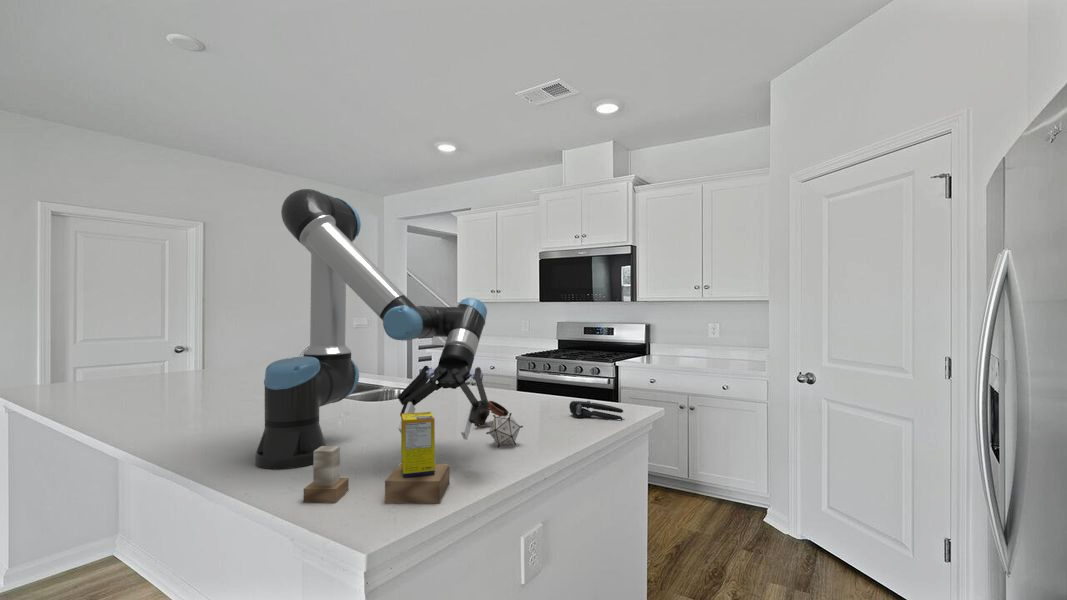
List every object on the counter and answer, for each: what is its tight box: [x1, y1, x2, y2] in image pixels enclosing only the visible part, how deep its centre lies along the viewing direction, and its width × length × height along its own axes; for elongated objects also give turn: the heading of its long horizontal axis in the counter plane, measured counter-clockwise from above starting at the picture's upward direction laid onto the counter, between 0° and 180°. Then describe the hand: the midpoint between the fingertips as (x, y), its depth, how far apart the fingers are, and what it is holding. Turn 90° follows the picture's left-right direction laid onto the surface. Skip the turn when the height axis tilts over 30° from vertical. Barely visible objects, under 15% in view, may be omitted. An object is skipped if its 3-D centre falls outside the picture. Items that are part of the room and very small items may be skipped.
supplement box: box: [400, 411, 436, 478], centre depth 98 cm, size 6×6×11 cm
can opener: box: [568, 400, 624, 420], centre depth 163 cm, size 18×7×6 cm, turn 69°
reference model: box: [302, 445, 350, 504], centre depth 96 cm, size 6×6×9 cm
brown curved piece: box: [474, 400, 510, 427], centre depth 153 cm, size 12×10×8 cm
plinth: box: [384, 463, 451, 504], centre depth 97 cm, size 10×10×4 cm
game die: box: [485, 412, 524, 449], centre depth 131 cm, size 9×8×10 cm
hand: (432, 434), depth 104 cm, fingers open, 13 cm apart
